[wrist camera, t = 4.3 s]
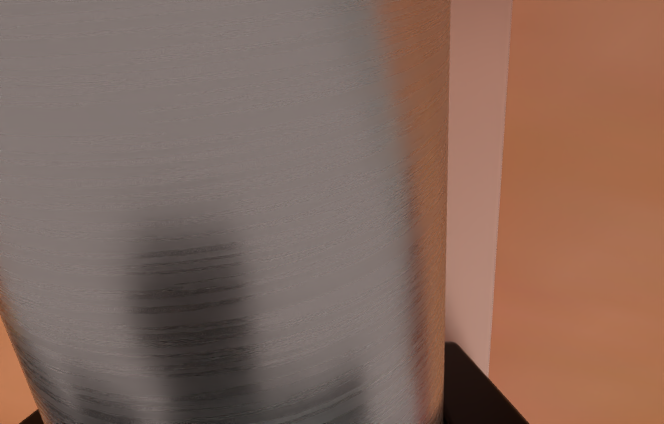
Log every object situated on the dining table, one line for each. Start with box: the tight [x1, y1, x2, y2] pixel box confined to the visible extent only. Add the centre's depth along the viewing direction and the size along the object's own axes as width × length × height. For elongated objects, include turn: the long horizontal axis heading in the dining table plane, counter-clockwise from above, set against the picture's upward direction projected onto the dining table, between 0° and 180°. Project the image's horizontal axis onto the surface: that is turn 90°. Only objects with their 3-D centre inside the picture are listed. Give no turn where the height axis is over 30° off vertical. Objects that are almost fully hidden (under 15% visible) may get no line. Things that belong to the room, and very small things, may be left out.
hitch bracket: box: [445, 0, 513, 377], centre depth 8 cm, size 18×7×6 cm, turn 4°
